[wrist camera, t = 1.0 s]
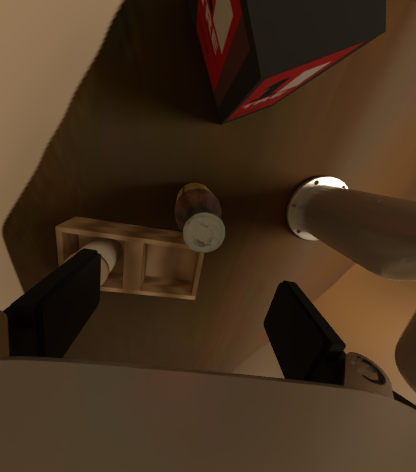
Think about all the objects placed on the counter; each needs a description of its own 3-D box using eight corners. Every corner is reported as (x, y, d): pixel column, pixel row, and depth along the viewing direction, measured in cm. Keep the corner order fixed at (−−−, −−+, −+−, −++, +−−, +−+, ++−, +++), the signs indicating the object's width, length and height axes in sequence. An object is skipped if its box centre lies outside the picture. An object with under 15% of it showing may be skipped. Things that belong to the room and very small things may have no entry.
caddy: (203, 235, 39) (205, 247, 34) (194, 282, 43) (195, 299, 38) (75, 216, 36) (55, 226, 30) (78, 269, 40) (60, 286, 34)
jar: (123, 236, 37) (107, 256, 30) (122, 266, 39) (106, 291, 32) (87, 231, 36) (61, 250, 29) (88, 262, 38) (63, 287, 31)
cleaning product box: (272, 105, 32) (385, 31, 14) (220, 124, 33) (261, 78, 14) (247, -35, 26) (389, -515, 7) (184, -9, 26) (170, -406, 8)
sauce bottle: (190, 221, 38) (191, 279, 20) (170, 194, 36) (149, 231, 17) (219, 201, 37) (247, 243, 19) (200, 172, 35) (210, 188, 16)
